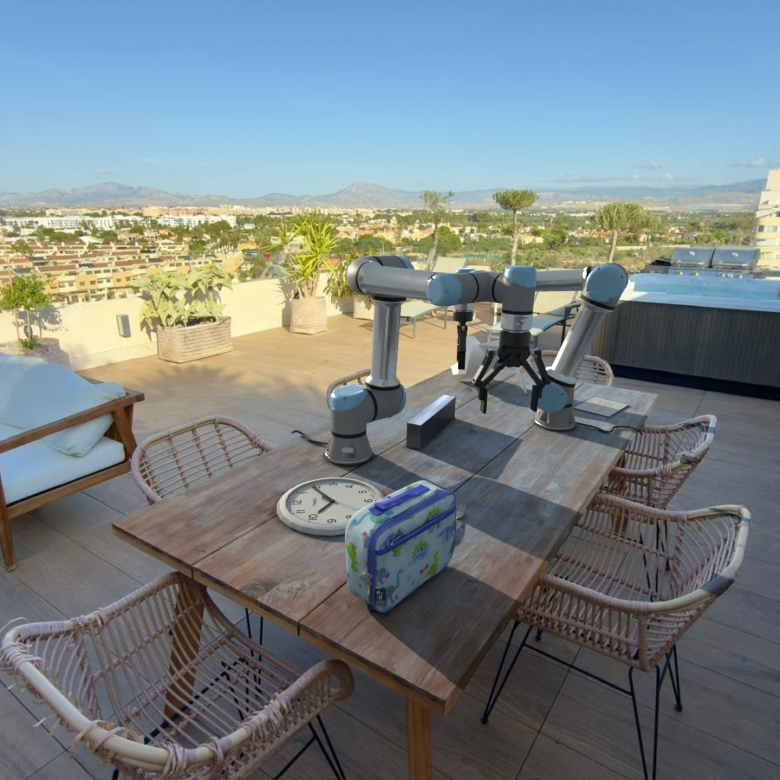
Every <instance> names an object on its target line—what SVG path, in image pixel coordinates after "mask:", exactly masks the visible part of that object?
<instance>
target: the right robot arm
mask: <svg viewBox="0 0 780 780" xmlns="http://www.w3.org/2000/svg"><path fill="white" fill-rule="evenodd" d="M470 271H476V269H475V268H472V267H458V268H456V269H455V271H454V273H469V272H470ZM504 272H505V271H499V272H498V273H504ZM536 272H537V273H536V284H537V286H536V290H535V293H537V292H538V293H539V292H542V293H543V292H546V293H547V292H548V293H549V292H581V294H580V296H579V300H580V304H581V305H580V307H579V309H578V311H577V313H576V314H575V318H574V319H573V321H572V323H571V326H570V328H569V329H568V332H567V334H566V336H565V338H564V340H563V342H562V344H561V346H560V348H559V350H558V353H557V355H556V357H555V358H554V361H553V363H552V365H548V366H545V368H546V371H547V373H548V376H549V379H550V381H551V383H550V384H549V385H545V387H544V388H543V389H542V397H541V399H538V407H537V412H536V413H535V417H534V424H535V425H536V426H537V427H539V428H542V429H544V430H549V431H556V432H567V431H572V430H574V429H575V428H576V425H579V426H584V427H587V428H592V429H595V430H598V431H600V432H602V433H605V434H611V433H613V432H614V430H615V429H617V428H619V429H630V430H634V431H635V432H637V433H638V434H640V435H641V436H644V433H643V432H642V431H641V430H639V429H638V428H636V427H634V426H629V425H614V426H612V427H611V430H606V429H603V428H600V427H598V426H595V425H591V424H587V423H583V422H578V421H576V418H575V417H576V416H575V413H574V407H573V405H574V398H575V389H576V385H577V383H578V381H577V379H578V377H577V376H578V375H577V373H578V371H579V369H580V367H581V365H582V363H583V361H584V359H585V357H586V355H587V354H588V351H589V350H590V347H591V345H592V344H593V341H594V339H595V337H596V336H597V333H598V332H599V330H600V327H601V326H602V324H603V322H604V320H605V318H606V316H607V314H609V313H612V312H614V311H615V309H616V307H617V305H618V303H619V301H620V299H621V297H622V295H623V293H624V292H625V290H626V288H627V287H628V284H629V273H628V271H627V270H626V268H625V267H624V266H623V265H622V264H619V263H616V262H607V263H603V264H597V265H587V266H586V267H585V268H580V269H578V268H577V269H560V270H559V269H556V270H555V269H553V270H536ZM474 306H475V303H468V304H459V305H452V308H453V311H452V320H453V321H454V322H457V323H458V324H456V333H457V338H456V362H457V363H458V370H465V358H466V337H467V336H468V330H469V326H468V324H467V323H470V322H473V320H474V311H473V310H474V308H475V307H474ZM540 380H542V378H541V377H540Z"/></svg>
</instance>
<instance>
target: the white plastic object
mask: <svg viewBox="0 0 780 780" xmlns="http://www.w3.org/2000/svg"><path fill="white" fill-rule="evenodd" d="M488 348H489V349H491V350H498V348H499V339H495V340H491V341H486V342H483V343H481V342H480V341H479V340H478V339H477V337H476V336H475V335H467V337H466V358H465V370H458V362H457V363H455V364H454V365H451V366H450V369H451V373H452V376H453V377H454V379H455V380H456V381H465V380H472V379H473V377H474V375H475V374H476V372H477V370H478V368H479V367H480V365H481V363H482V361H483V359H484V358H485V354H486V350H487V349H488ZM498 359H499V357H498V356H497V355H496V356H495V358H494V359H492V362H491V364H490V366H489V367H488V369H487V371H486V373H485V375H486V374H487V373H488V371H489V370H490V369H491V368H492V367H493V366H494V365H495V363H496V361H497V360H498ZM527 362H528V363H529V364H530V366H531V368H532V369H533V370H534V368H533V365H532V363H531V359H530V356H529V357H528V359H527ZM513 369H514V371H515V373H516V374H515V375H516V378H517V380H518V383H519V387H520V388H521V389H522V391H523V392H524V394H527V391H528V389H527V386H526V383H525V381H524V377H523V373H522V371H521V366H520V367H513ZM485 375H484V376H485ZM484 376H483V377H484ZM530 380H531V383H532V385H536V383H535V382H534V381H533V379H532V378H531V377H530Z"/></svg>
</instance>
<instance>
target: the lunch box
mask: <svg viewBox="0 0 780 780" xmlns="http://www.w3.org/2000/svg"><path fill="white" fill-rule="evenodd" d="M456 505H457V499H456V495H455V493H454V492H453V490H450V489H442V488H440V487H439V486H437V485H435V484H433V483H432V482H430V481H428V480H418V481H416V482H413V483H410V484H409V485H406V486H405V487H402V488H400V489H398V490H396V491H394V492H392V493H390V494H388V495H385V497H384V498H382V499H380V500H378V501H376V502H374V503H372V504H370V505H368V506H366V507H364V508H362V509H360V510H358V511H357V512H355V513H354V514H353V515H352V517H351V518H350V520H349V522H348V524H347V527H346V531H345V534H344V552H345V577H346V578H345V580H346V586H347V589H348V592H349V593H350V594H352V595H354V596H356V597H357V598H359V599H361V600H363V602H365V603H367V604H368V605H370V607H371V608H372V609H373V610H375V611H376V612H378V613H380V614H382V613H383V614H385V613H387V612H389V611H391V609H393V608H394V607H395V606H396V605H397V604H400V602H401V601H402V600H404V599H406V597H409V596H410V595H411V594H412V593H414V592H415V591H416V590H417V589H418V588H420V587H421V586H422V585H423V584H424V583H425V582H427V581H428V580H430V579H432V578H433V577H434V576H436V575H437V574H439V573H441V572H442V571H443V570H445V568H446V567H447V566H448V564H449V563H450V561H451V560H452V557H453V554H454V551H455V548H456V547H455V546H456V531H457V519H456V512H457V508H456Z"/></svg>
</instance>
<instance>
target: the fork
mask: <svg viewBox="0 0 780 780" xmlns="http://www.w3.org/2000/svg"><path fill="white" fill-rule="evenodd" d="M463 504H464V503H459V502H457V501H456V520H458V519H461V518H463V517H464V515H465V514H464V513H465V508H466V504H464V506H463Z"/></svg>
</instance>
